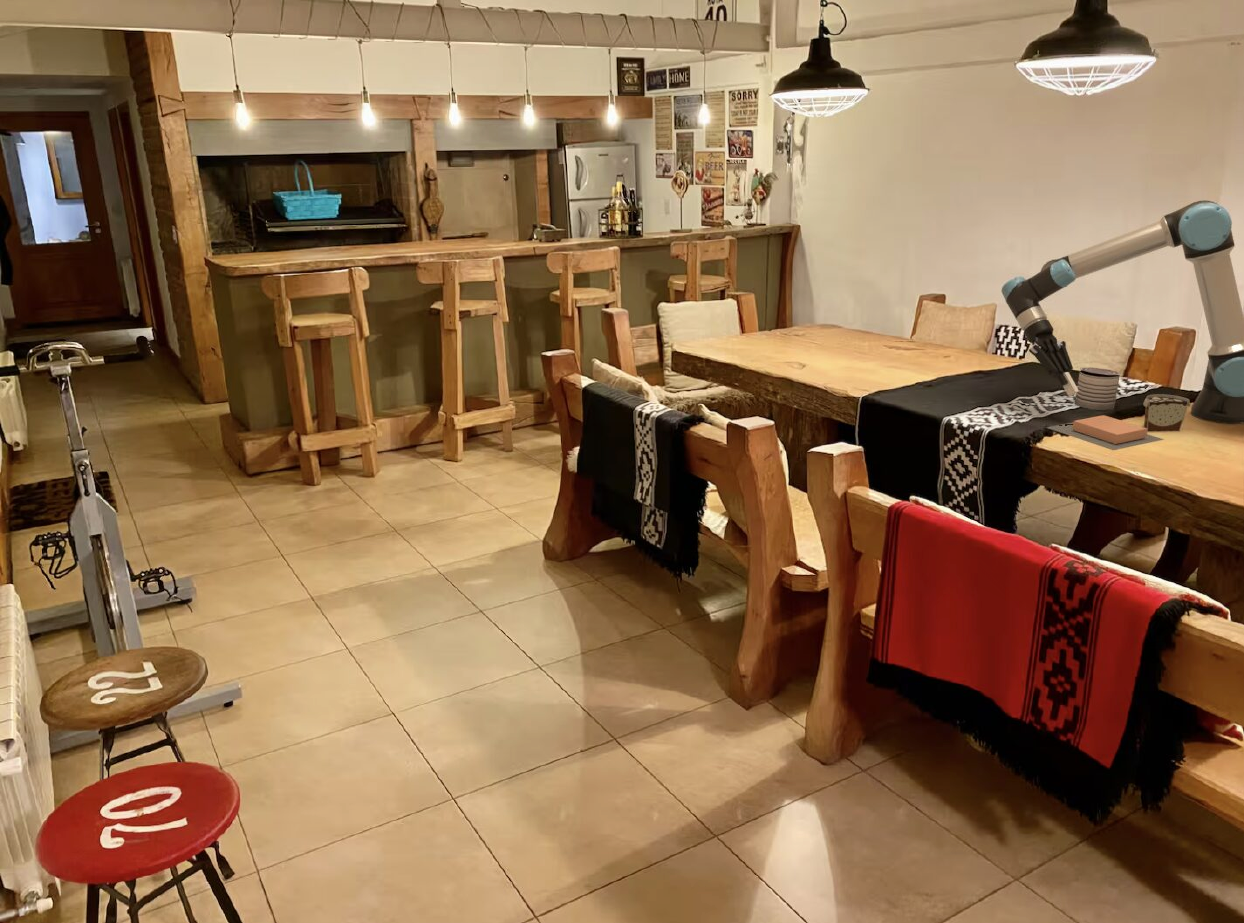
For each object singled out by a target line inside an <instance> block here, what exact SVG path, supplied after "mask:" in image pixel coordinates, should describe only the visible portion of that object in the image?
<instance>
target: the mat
mask: <svg viewBox="0 0 1244 923" xmlns="http://www.w3.org/2000/svg"><path fill="white" fill-rule="evenodd" d="M1073 422H1074V421H1072V422H1067V423H1062V424H1057V425H1052V426H1047V427H1045V429H1049V430H1051V431H1054V432H1057V433H1060V434H1065V435H1066V436H1070V437H1072V438H1075V439H1079V440H1082V441H1084V442H1087V443H1090V444H1094V445H1097V446H1099V447H1102V448H1105V449H1108V450H1112V451H1116V450H1121V449H1122V450H1123V449H1126V448H1131V447H1135V446H1139V445H1145V444H1149V443H1153V442H1159V441H1164V440H1165V439H1164V438H1161V437H1158V436H1155V435H1151V434H1148V433H1147V436H1146V437H1145V438H1142V439H1137V440H1132V441H1128V442H1123V443H1118V444H1114V443H1111V442H1108V441H1105V440H1102V439H1098V438H1095V437H1092V436H1089V435H1086V434H1083V433H1080V432H1077V431H1074V430H1073V429H1072V428H1073V425H1067V426H1065V424H1073ZM1059 425H1062V426H1059Z"/></svg>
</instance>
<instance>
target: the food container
mask: <svg viewBox="0 0 1244 923" xmlns="http://www.w3.org/2000/svg"><path fill="white" fill-rule="evenodd" d="M1142 404H1143V406H1144V407H1145V409H1144V410H1145V411H1144V423H1143V427H1144V428H1148V431H1147V432H1180V431H1181V429H1182V426H1183V422H1184V419H1185V415H1186V412H1187V409H1188V407H1191V402H1190V398H1186V397H1183V396H1179V395H1173V394H1172V395H1171V394H1165V393H1162V394H1161V393H1160V394H1159V393H1157V394H1149V395H1146V398H1145V399H1144V401H1143V403H1142Z"/></svg>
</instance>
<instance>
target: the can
mask: <svg viewBox="0 0 1244 923" xmlns="http://www.w3.org/2000/svg"><path fill="white" fill-rule="evenodd" d="M1079 370H1080V371H1079V374H1078V381H1077V385H1076V386H1077V388H1078V390H1079V392H1077V393H1076V394H1075V400H1074V404H1075V405H1076V406H1079V407H1080V408H1084V409H1088V410H1097V411H1111V409H1113V408H1114V409H1115V405H1116V398H1117V393H1118V388H1119V382H1120V376H1121V372H1120V371H1116V370H1111V369H1107V368H1106V369H1105V368H1099V367H1085V366H1084V367H1080V368H1079ZM1114 409H1113V410H1114Z"/></svg>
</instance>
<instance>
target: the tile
mask: <svg viewBox="0 0 1244 923" xmlns="http://www.w3.org/2000/svg"><path fill="white" fill-rule="evenodd" d="M1072 422H1073V428H1072V429H1073V430H1074V431H1077V432H1080V433H1083V434H1086V435H1089V436H1092V437H1095V438H1098V439H1102V440H1105V441H1108V442H1111V443H1114V444H1118V443H1123V442H1128V441H1132V440H1137V439H1142V438H1145V437H1146V436H1147V434H1148V432H1149V431H1148V428H1144V426H1141V425H1137V424H1133V423H1130V422H1127V421H1124V420H1120V419H1117V418H1114V417H1110V416H1107V415H1105V414H1103V415H1097V416H1092V417H1087V418H1083V419H1081V418H1080V419H1077V420H1073V421H1072Z"/></svg>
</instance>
